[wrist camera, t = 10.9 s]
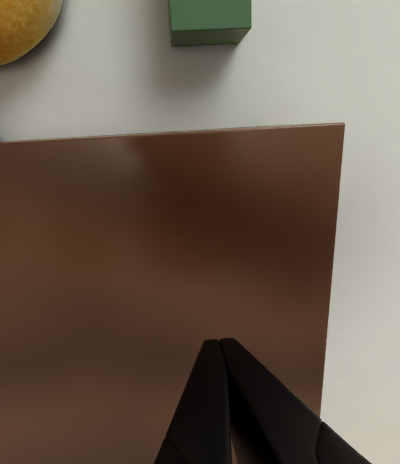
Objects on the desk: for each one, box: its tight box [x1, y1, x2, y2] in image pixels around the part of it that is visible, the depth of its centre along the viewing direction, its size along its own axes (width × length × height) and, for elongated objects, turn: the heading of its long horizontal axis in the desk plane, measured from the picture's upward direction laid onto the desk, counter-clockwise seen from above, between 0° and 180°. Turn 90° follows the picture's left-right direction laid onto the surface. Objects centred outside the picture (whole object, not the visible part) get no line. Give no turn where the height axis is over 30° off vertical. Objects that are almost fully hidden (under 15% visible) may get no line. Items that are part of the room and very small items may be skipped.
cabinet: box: [0, 123, 345, 464], centre depth 16 cm, size 17×15×9 cm
